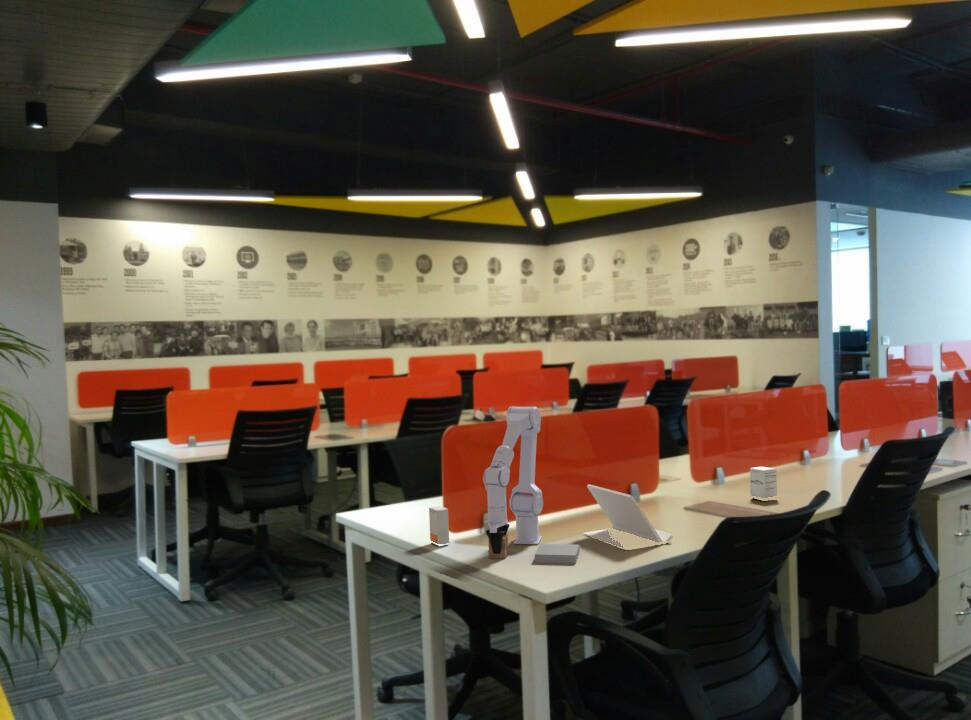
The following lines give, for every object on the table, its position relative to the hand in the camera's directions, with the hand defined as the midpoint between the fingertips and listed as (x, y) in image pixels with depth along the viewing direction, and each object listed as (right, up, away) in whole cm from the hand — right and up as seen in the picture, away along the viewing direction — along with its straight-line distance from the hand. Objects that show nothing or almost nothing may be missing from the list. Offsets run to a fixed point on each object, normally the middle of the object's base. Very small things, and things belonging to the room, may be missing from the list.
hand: (498, 550), depth 232 cm
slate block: (+18, -2, -4) cm, 18 cm away
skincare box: (-19, -2, +16) cm, 25 cm away
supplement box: (+106, +3, +69) cm, 127 cm away
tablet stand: (+42, -1, +16) cm, 45 cm away
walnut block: (0, -2, 0) cm, 2 cm away
